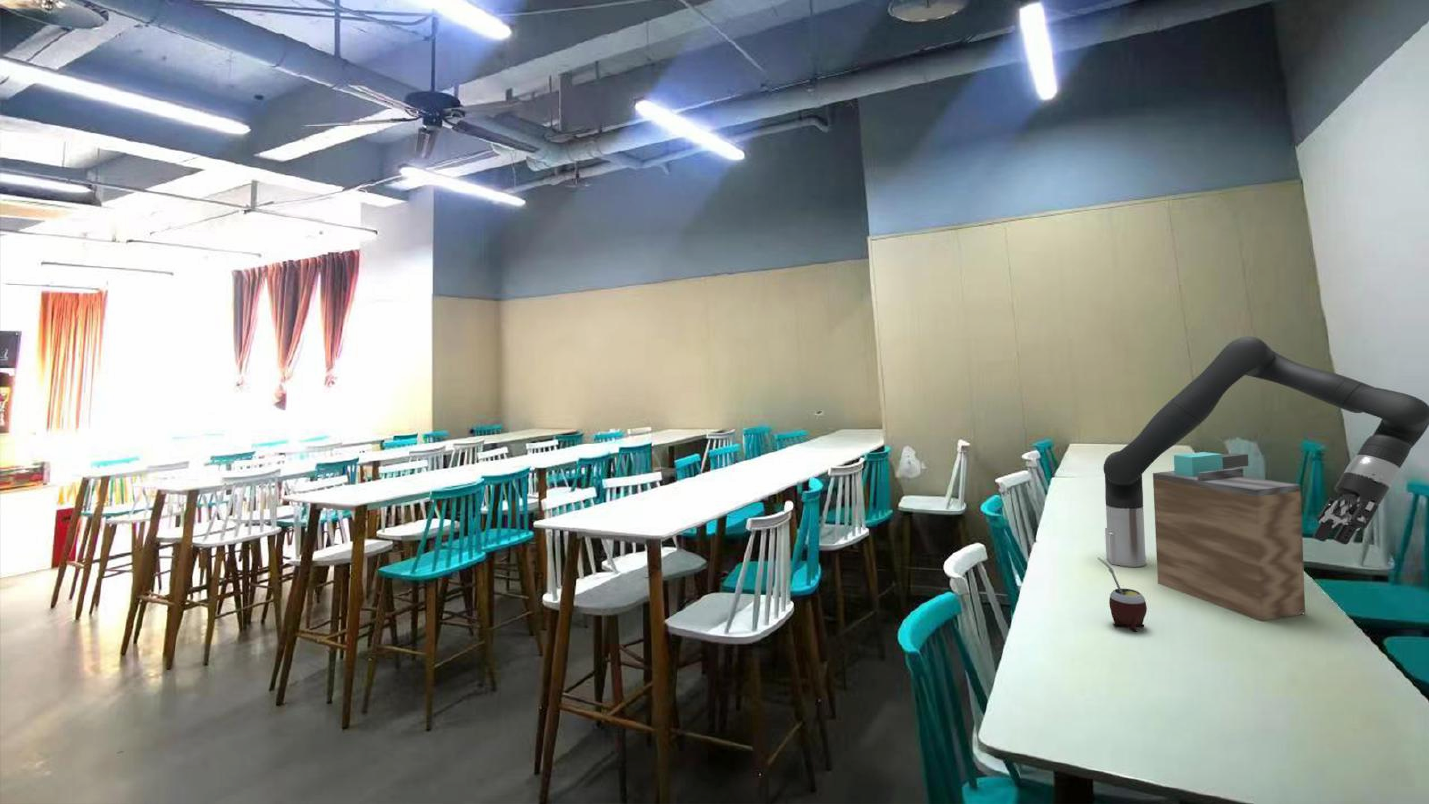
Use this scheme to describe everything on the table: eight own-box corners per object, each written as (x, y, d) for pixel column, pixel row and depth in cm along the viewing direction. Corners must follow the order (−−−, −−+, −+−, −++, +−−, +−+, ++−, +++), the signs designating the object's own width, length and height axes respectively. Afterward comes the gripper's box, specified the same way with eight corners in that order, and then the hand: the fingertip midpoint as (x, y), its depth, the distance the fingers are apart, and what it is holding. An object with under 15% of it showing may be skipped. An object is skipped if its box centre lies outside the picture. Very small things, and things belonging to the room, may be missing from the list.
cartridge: (1232, 467, 157) (1232, 449, 157) (1252, 470, 152) (1251, 451, 152) (1174, 474, 154) (1173, 455, 154) (1192, 476, 149) (1191, 457, 149)
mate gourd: (1154, 633, 131) (1151, 567, 130) (1114, 632, 132) (1111, 567, 132) (1136, 619, 138) (1133, 556, 138) (1099, 619, 140) (1096, 557, 139)
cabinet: (1198, 577, 160) (1193, 461, 159) (1307, 613, 135) (1302, 475, 133) (1157, 583, 158) (1152, 465, 157) (1260, 621, 133) (1255, 481, 132)
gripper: (1328, 472, 141) (1292, 530, 142) (1366, 469, 128) (1326, 534, 129) (1367, 488, 138) (1330, 547, 139) (1410, 487, 125) (1369, 553, 126)
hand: (1328, 541), depth 134 cm, fingers open, 8 cm apart
